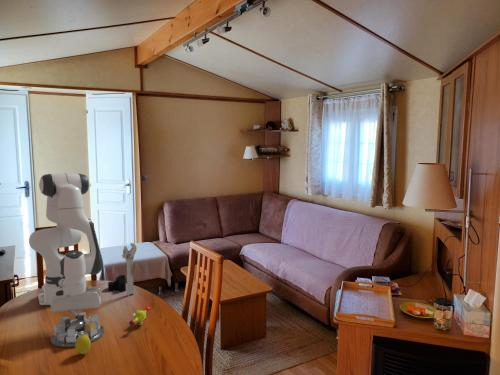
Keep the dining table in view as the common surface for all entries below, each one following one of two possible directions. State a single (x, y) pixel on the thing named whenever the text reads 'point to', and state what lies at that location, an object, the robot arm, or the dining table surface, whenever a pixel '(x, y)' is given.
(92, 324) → the cube bead bracelet
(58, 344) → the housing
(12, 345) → the dining table surface
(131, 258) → the wrench
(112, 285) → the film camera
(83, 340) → the lemon
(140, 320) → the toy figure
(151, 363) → the dining table surface
